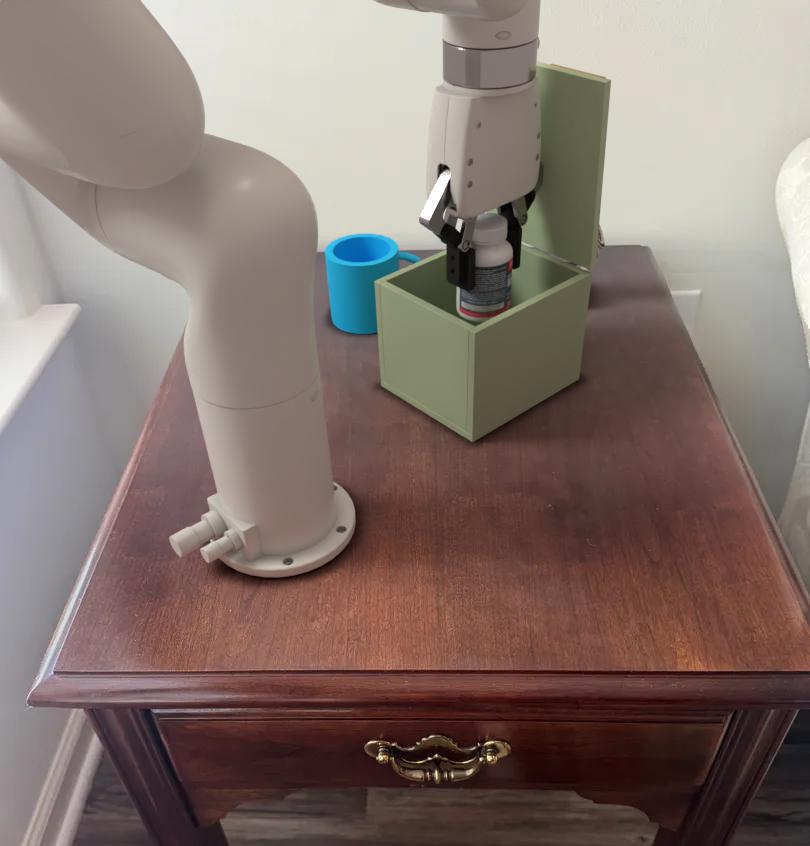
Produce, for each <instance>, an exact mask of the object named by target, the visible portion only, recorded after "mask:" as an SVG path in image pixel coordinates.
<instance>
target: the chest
mask: <svg viewBox="0 0 810 846" xmlns="http://www.w3.org/2000/svg"><path fill="white" fill-rule="evenodd" d="M549 255H550V254H549ZM549 255H547V254H545V253H542V252H540V251H537V250H535V249H534V247H533V248H532V247H530V246H528V245H526V244H524V243H521V260H520V267H519V268H517V269H515V270H514V269H512V281H511V304H510V309H509V310H507V311H505V312H503V313H501V314H499V315H497V316H495V317H493V318H491V319H490V320H488V321H486V322H484V323H481V322H473V321H469V320H467V319H465V318H463V317H462V316H460V315H459V313H458V312H457V308H456V292H457V286H455V285H453V284H451V283H449V282H448V281H447V278H446V249H444V250H442V251H439V252H437V253H435V254H433V255H431V256H428V257H426V258H424V259H422V260H421V261H419V262H417V263H415V264H414V263H411V264H410V265H408V266H406V267H403V268H401V269H399V271H396V272H394V273H392V274H389V275H387V276H385V277H383V278H380V279H378V280H376V281H375V297H376V313H377V329H378V333H377V342H378V357H379V359H378V360H379V374H380V386H381V387H382V388H384V389H386V390H387V391H389V392H390V393H392V394H394V395H395V396H397V397H399V398H400V399H401V400H403V401H405V402H407V403H408V404H410V405H411V406H413V407H415V408H416V409H418V410H419V411H421V412H422V413H424V414H426V415H427V416H429V417H431V418H432V419H434V420H436V421H437V422H439V423H440V424H442V425H444V426H445V427H447V428H449V430H452V431H453V432H455V433H457V434H458V435H459V436H461V437H463V438H464V439H466V440H467V441H469V442H471V443H474V442H476V441H477V440H479V439H481V438H483V437H484V436H486V435H488V434H489V433H491V432H493V431H495V430H496V429H498V428H499V427H501V426H503V425H505V424H507V423H508V422H510V421H511V420H513V419H515V418H516V417H518V416H520V415H521V414H523V413H525V412H526V411H529V410H530V409H531V408H534V406H537V405H538V404H540V403H541V402H543V401H545V400H547V399H548V398H550V397H552V396H554V395H555V394H556V393H558V392H560V391H562V390H563V389H565V388H567V387H569V386H571V385H572V384H573V383H576V382H577V381H579V379H580V375H581V374H580V373H581V367H582V360H583V359H582V358H583V350H584V343H585V336H586V335H585V334H586V327H587V319H588V311H589V302H590V295H591V285H592V280H593V279H592V278H593V273H592V272H590V271H585V270H583V269H581V268H578V267H576V266H574V265H571V264H569V263H566V262H567V261H563V260H562V259H560V258H556V257H555V256H552V255H550V256H549Z"/></svg>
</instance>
